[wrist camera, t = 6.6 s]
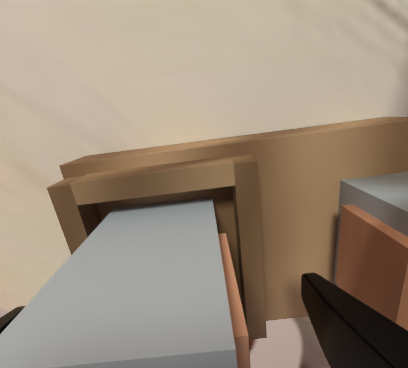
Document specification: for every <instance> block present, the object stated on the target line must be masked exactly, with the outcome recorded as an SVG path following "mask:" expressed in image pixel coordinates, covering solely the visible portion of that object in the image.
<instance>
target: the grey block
mask: <svg viewBox="0 0 408 368" xmlns="http://www.w3.org/2000/svg"><path fill="white" fill-rule="evenodd" d="M0 368H250V353H249V338H248V332H247V327H246V322H245V318H244V313H243V309H242V304H241V300H240V295H239V291H238V286H237V282H236V277H235V273H234V268H233V263H232V259H231V254H230V250H229V245H228V241H227V236H226V233H222V234H218V231H217V224H216V218H215V211H214V205H213V198H212V197H206V198H197V199H188V200H178V201H169V202H160V203H151V204H142V205H133V206H123V207H115V208H114V209H113V210H112V211H111V212H110V213H109V214H108V215H107V216H106V218H105V219H104V220H103V221H102V222H101V223H100V224H99V225H98V226H97V228H96V229H95V230H94V231H93V232H92V233H91V234H90V235H89V236H88V238H87V239H86V240H85V241H84V242H83V243H82V244H81V245H80V246H79V247H78V249H77V250H76V251H75V252H74V253H73V254H72V255H71V256H70V257H69V259H68V260H67V261H66V262H65V263H64V264H63V265H62V266H61V267H60V269H59V270H58V271H57V272H56V273H55V274H54V275H53V276H52V277H51V279H50V280H49V281H48V282H47V283H46V284H45V285H44V286H43V287H42V288H41V290H40V291H39V292H38V293H37V294H36V295H35V296H34V297H33V298H32V300H31V301H30V302H29V303H28V304H27V305H26V306H25V307H24V308H23V310H22V311H21V312H20V313H19V314H18V315H17V316H16V317H15V318H14V320H13V321H12V322H11V323H10V324H9V325H8V326H7V327H6V328H5V329H4V331H3V332H2V333H1V334H0Z"/></svg>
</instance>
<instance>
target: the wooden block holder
mask: <svg viewBox="0 0 408 368" xmlns="http://www.w3.org/2000/svg"><path fill="white" fill-rule="evenodd" d="M60 169H61V172H62V175H63V178H64V180H62V181H60V182H58V183H56V184H54V185H52V186H50V187H48V188H47V190H48V192H49V195H50V198H51V200H52V203H53V206H54V209H55V211H56V214H57V217H58V219H59V222H60V225H61V227H62V230H63V233H64V236H65V238H66V241H67V244H68V246H69V249H70V252H71V255H72V254H73V253H74V252H75V251H76V250H77V249H78V247H79V246H80V245H81V244H82V243H83V242H84V241H85V240H86V239H87V238H88V236H89V235H90V234H91V233H92V232H93V231H94V230H95V229H96V228H97V226H98V225H99V224H100V223H101V222H102V221H103V220H104V219H105V218H106V216H107V215H108V214H109V213H110V212H111V211H112V210H113V209H114V208H115V207H123V206H133V205H142V204H151V203H160V202H169V201H178V200H188V199H197V198H206V197H212V198H213V205H214V211H215V218H216V224H217V231H218V234H222V233H226V236H227V241H228V245H229V250H230V254H231V259H232V263H233V268H234V273H235V277H236V282H237V286H238V291H239V295H240V300H241V304H242V309H243V313H244V318H245V322H246V327H247V332H248V338H249V339H258V338H266V321H268V320H276V319H286V318H295V317H304V316H308V313H307V311H306V308H305V306H304V303H303V301H302V297H301V276H302V274H304V273H312V272H314V273H317V274H319V275H320V276H322V277H323V278H325V279H326V280H328V281H330V282H331V283H333V284H334V285H336V286H338V287H339V288H341V289H342V290H344V291H346V292H347V293H349V294H350V295H352V296H353V297H355V298H357V299H358V300H360V301H361V302H363V303H365V304H366V305H368V306H369V307H371V308H373V309H374V310H376V311H377V312H379V313H380V314H382V315H384V316H385V317H387V318H388V319H390V320H392V321H393V322H395V323H396V324H398V325H400V326H401V327H403V328H404V329H406V330H407V331H408V117H383V118H375V119H367V120H360V121H352V122H344V123H337V124H329V125H321V126H313V127H306V128H298V129H290V130H283V131H275V132H267V133H260V134H252V135H244V136H237V137H229V138H221V139H213V140H206V141H198V142H190V143H183V144H175V145H167V146H160V147H152V148H144V149H136V150H129V151H121V152H113V153H106V154H98V155H90V156H84V157H82V158H79V159H76V160H74V161H71V162H68V163H66V164H63V165H60Z"/></svg>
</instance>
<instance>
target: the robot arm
mask: <svg viewBox="0 0 408 368" xmlns="http://www.w3.org/2000/svg"><path fill="white" fill-rule="evenodd" d="M301 297H302V301H303V303H304V306H305V308H306V311H307V313H308V316H309V318H310V320H311V323H312V325H313V328H314V330H315V333H316V335H317V338H318V340H319V343H320V345H321V348H322V350H323V352H324V354H325V356H326V358H327V361H328V363H329V365H330V366H331V368H408V331H407V330H406V329H404V328H403V327H401V326H400V325H398V324H396V323H395V322H393V321H392V320H390V319H388V318H387V317H385V316H384V315H382V314H380V313H379V312H377V311H376V310H374V309H373V308H371V307H369V306H368V305H366V304H365V303H363V302H361V301H360V300H358V299H357V298H355V297H353V296H352V295H350V294H349V293H347V292H346V291H344V290H342V289H341V288H339V287H338V286H336V285H334V284H333V283H331V282H330V281H328V280H326V279H325V278H323V277H322V276H320V275H319V274H317V273H314V272H312V273H304V274H302V276H301ZM24 307H25V306H20V307H17V308H15V309H13V310H12V311H10V312H9V313H7V314H6V315H4V316H3V317H1V318H0V334H1V333H2V332H3V331H4V329H5V328H6V327H7V326H8V325H9V324H10V323H11V322H12V321H13V320H14V318H15V317H16V316H17V315H18V314H19V313H20V312H21V311H22V310H23V308H24Z"/></svg>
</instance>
